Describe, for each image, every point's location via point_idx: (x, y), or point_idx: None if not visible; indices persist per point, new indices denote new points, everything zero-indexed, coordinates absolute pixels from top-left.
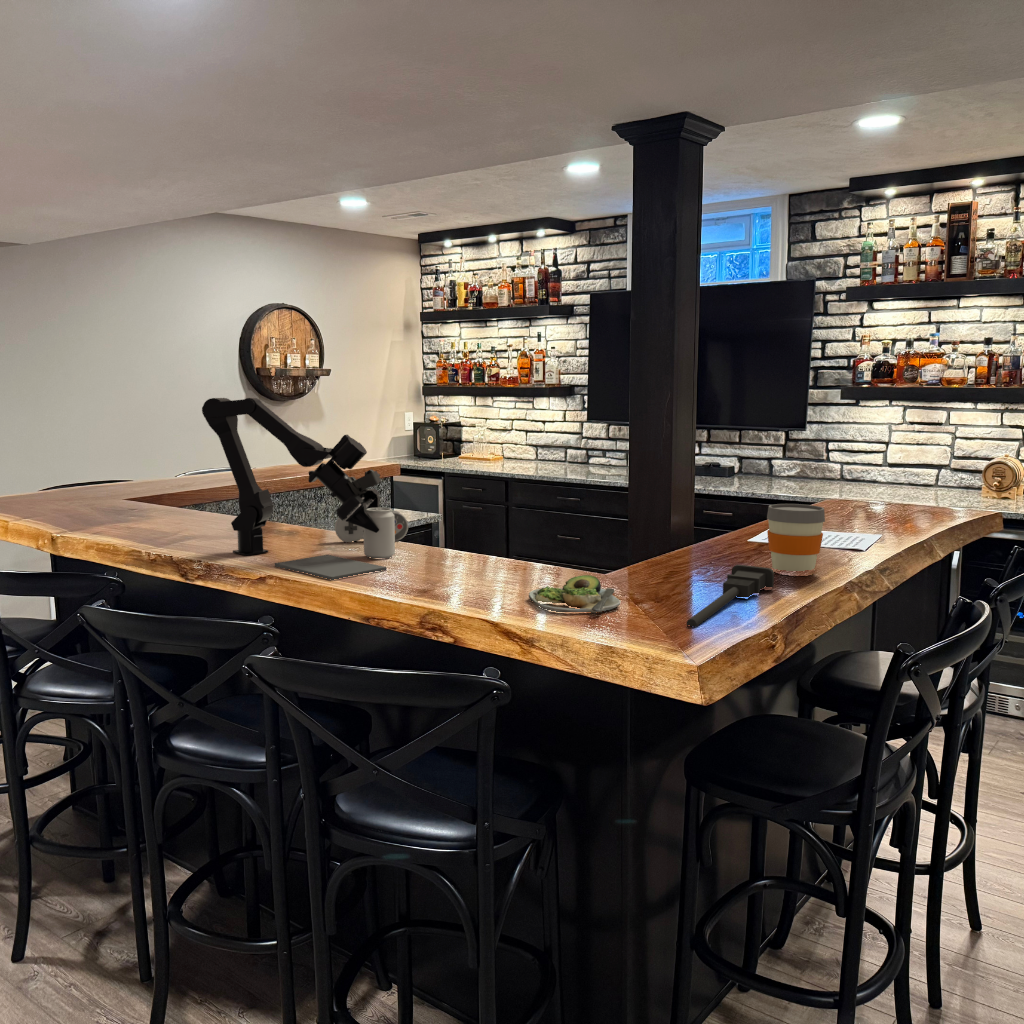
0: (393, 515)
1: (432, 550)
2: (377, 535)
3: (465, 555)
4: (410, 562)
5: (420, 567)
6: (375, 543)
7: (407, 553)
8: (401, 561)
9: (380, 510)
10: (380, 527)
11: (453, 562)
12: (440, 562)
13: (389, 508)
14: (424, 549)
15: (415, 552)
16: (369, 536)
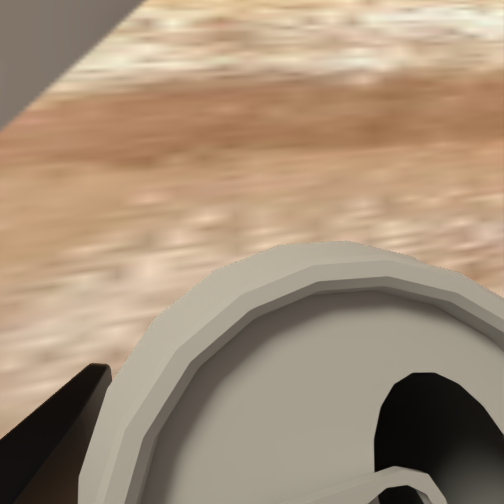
0: (356, 245)
1: (61, 142)
2: (428, 413)
3: (196, 5)
4: (390, 210)
5: (488, 156)
6: (396, 421)
7: (150, 257)
8: None
9: (414, 485)
10: (467, 392)
11: (357, 43)
12: (366, 89)
13: (244, 316)
14: (27, 183)
15: (119, 219)
16: (418, 495)
